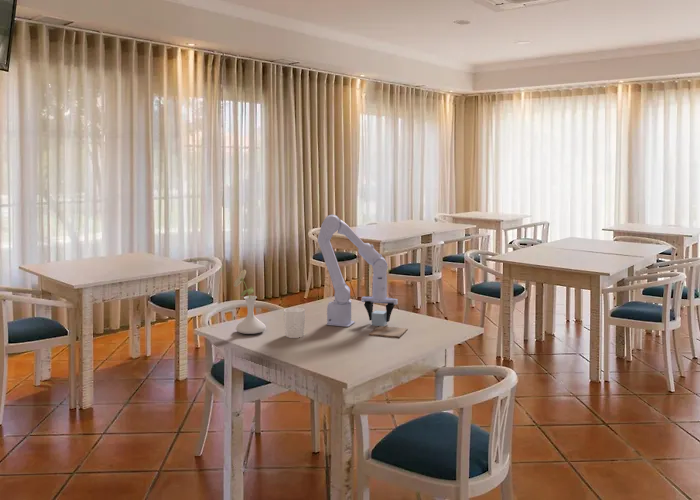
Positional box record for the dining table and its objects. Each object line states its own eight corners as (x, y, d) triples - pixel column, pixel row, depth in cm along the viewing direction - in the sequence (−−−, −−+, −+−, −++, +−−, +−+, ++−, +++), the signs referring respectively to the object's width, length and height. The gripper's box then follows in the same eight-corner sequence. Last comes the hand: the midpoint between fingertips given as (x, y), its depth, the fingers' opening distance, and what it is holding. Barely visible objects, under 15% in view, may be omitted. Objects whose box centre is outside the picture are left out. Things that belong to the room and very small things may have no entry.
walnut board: (368, 335, 238) (368, 333, 238) (378, 327, 250) (378, 325, 249) (399, 338, 234) (399, 336, 234) (407, 329, 246) (407, 328, 245)
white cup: (308, 334, 240) (308, 308, 239) (300, 339, 233) (299, 313, 231) (289, 332, 243) (289, 306, 241) (280, 337, 235) (280, 311, 234)
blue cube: (371, 325, 253) (371, 313, 252) (375, 322, 258) (375, 310, 257) (383, 326, 251) (383, 314, 251) (387, 323, 256) (387, 311, 255)
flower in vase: (250, 327, 250) (249, 264, 247) (272, 331, 244) (271, 267, 240) (226, 334, 240) (224, 269, 236) (248, 339, 233) (246, 272, 230)
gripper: (359, 288, 251) (359, 321, 253) (394, 290, 246) (394, 324, 248) (364, 284, 258) (364, 317, 260) (399, 287, 253) (398, 320, 255)
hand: (379, 320), depth 254 cm, fingers open, 6 cm apart
